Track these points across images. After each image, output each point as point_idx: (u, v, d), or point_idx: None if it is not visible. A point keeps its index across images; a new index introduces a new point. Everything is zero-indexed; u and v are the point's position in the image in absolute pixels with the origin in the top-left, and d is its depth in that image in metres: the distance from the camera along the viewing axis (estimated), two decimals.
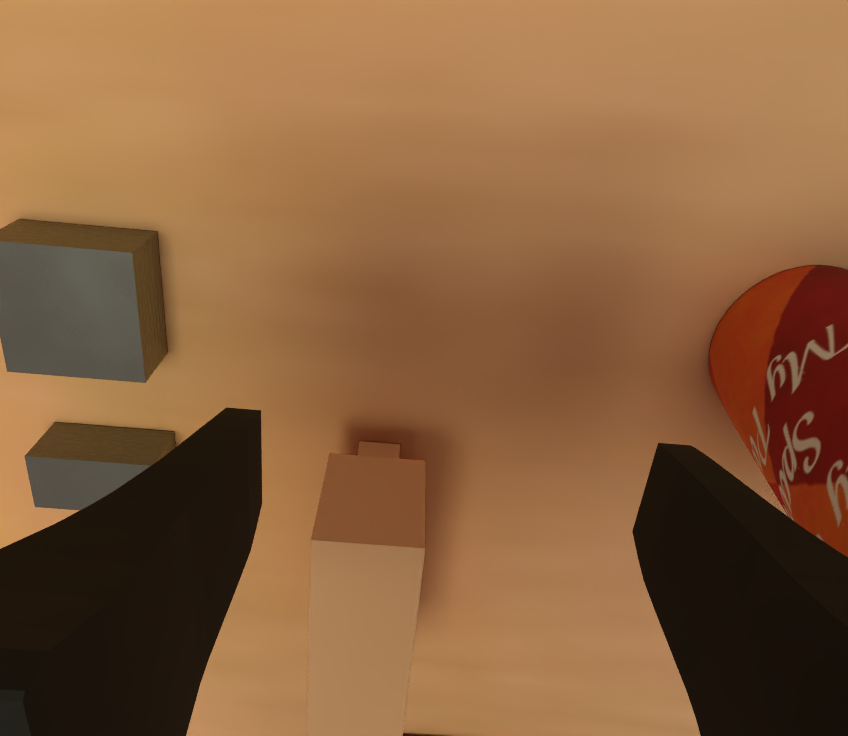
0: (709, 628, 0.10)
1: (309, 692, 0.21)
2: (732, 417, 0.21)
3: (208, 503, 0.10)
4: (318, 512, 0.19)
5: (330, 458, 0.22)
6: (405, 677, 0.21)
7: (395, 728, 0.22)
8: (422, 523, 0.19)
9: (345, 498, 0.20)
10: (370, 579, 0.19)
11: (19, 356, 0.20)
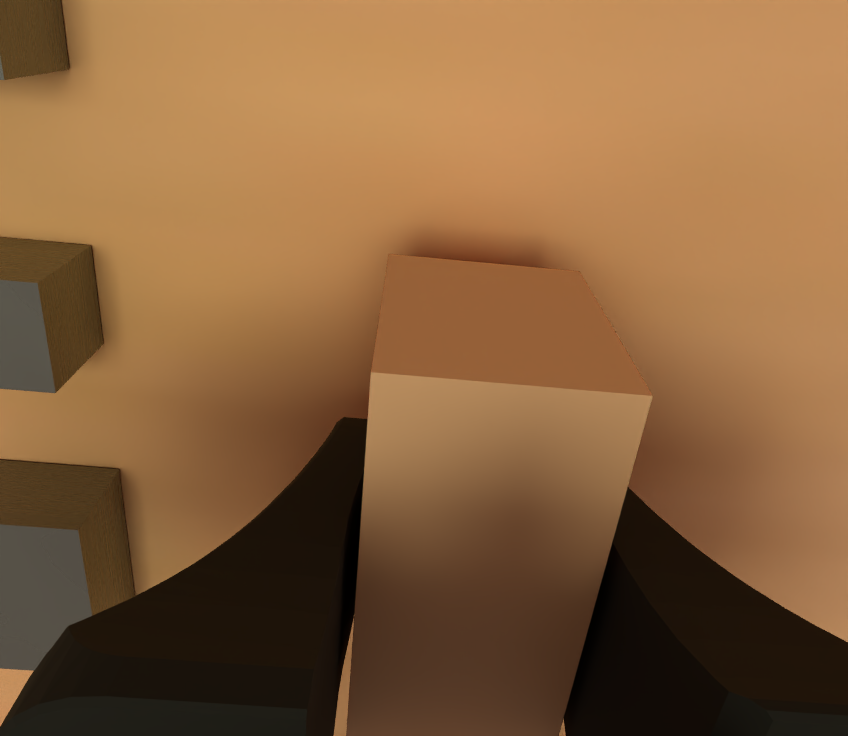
0: None
1: None
2: None
3: (355, 514, 0.10)
4: (380, 329, 0.08)
5: (391, 260, 0.11)
6: (557, 708, 0.10)
7: None
8: (622, 354, 0.08)
9: (434, 311, 0.09)
10: (507, 480, 0.08)
11: None
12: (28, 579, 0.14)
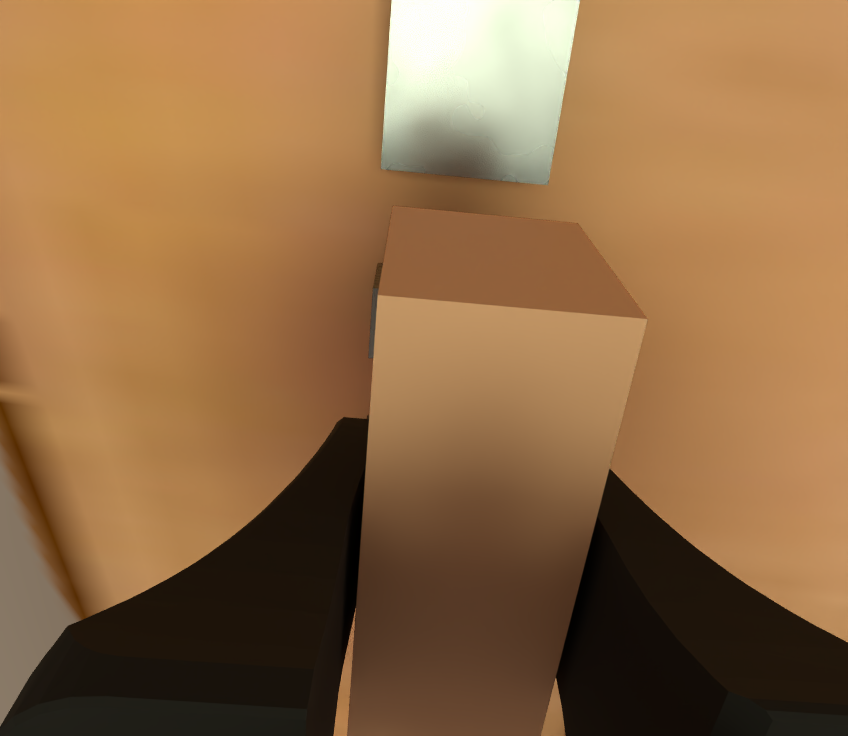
0: (572, 618, 0.10)
1: (355, 672, 0.10)
2: None
3: (355, 514, 0.10)
4: (386, 262, 0.09)
5: (395, 210, 0.11)
6: (556, 638, 0.10)
7: None
8: (618, 287, 0.09)
9: (438, 250, 0.09)
10: (508, 405, 0.08)
11: (400, 148, 0.16)
12: None
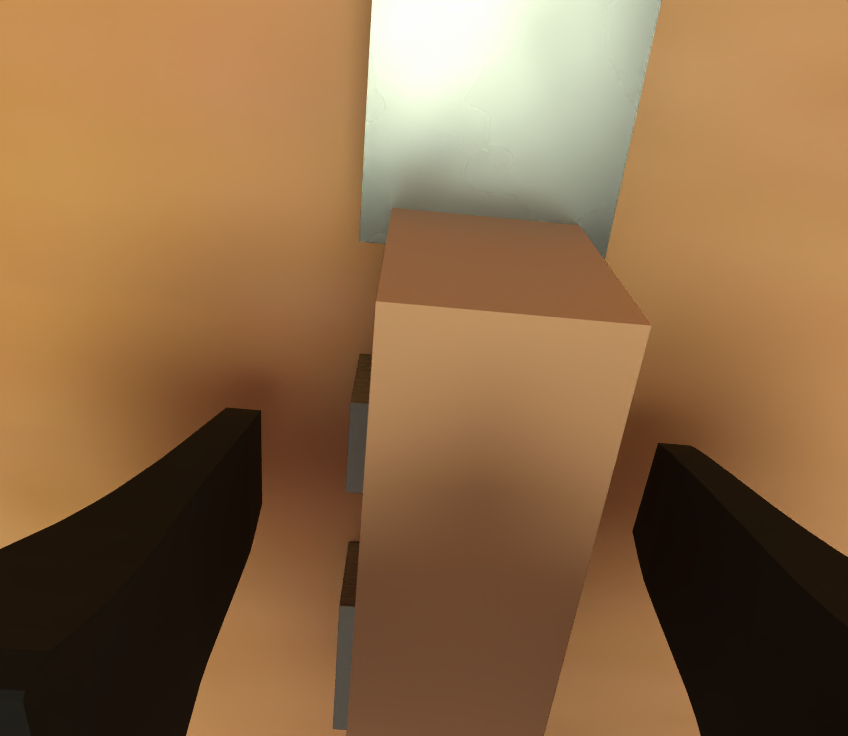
0: (709, 628, 0.10)
1: (354, 681, 0.10)
2: None
3: (208, 503, 0.10)
4: (385, 267, 0.09)
5: (394, 212, 0.11)
6: (557, 648, 0.10)
7: None
8: (621, 292, 0.09)
9: (438, 254, 0.09)
10: (509, 412, 0.08)
11: (387, 212, 0.11)
12: None
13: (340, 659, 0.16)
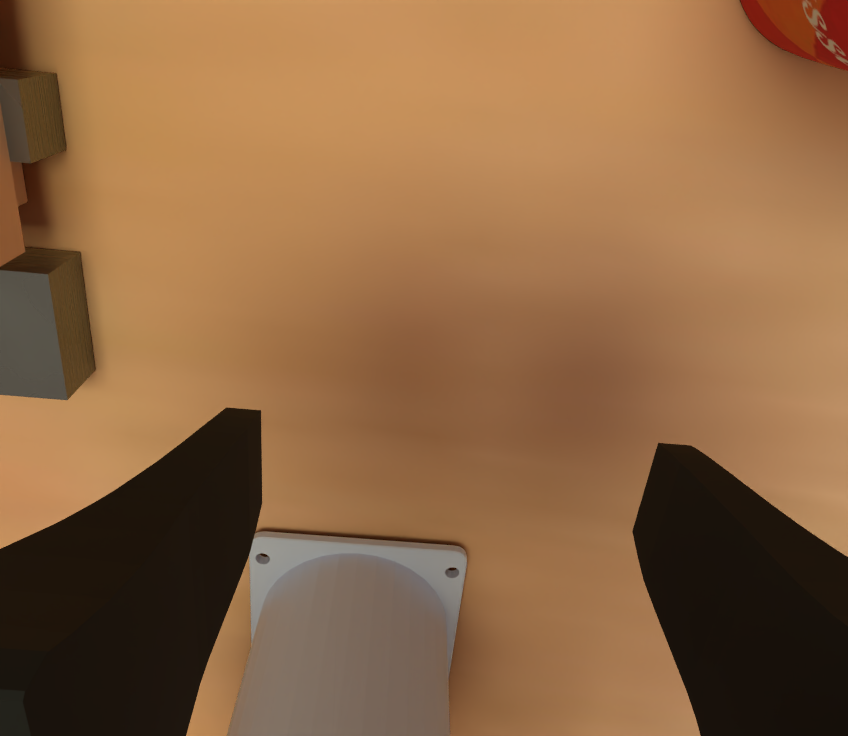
0: (709, 628, 0.10)
1: None
2: None
3: (208, 503, 0.10)
4: None
5: None
6: None
7: None
8: None
9: None
10: None
11: None
12: (14, 316, 0.20)
13: None
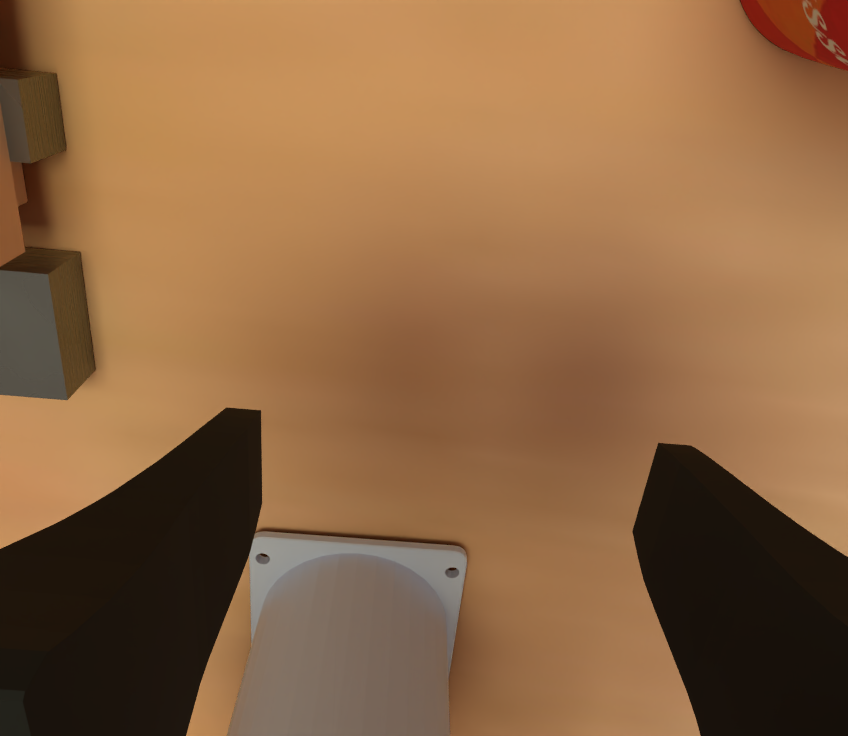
0: (709, 628, 0.10)
1: None
2: None
3: (208, 503, 0.10)
4: None
5: None
6: None
7: None
8: None
9: None
10: None
11: None
12: (14, 316, 0.20)
13: None
